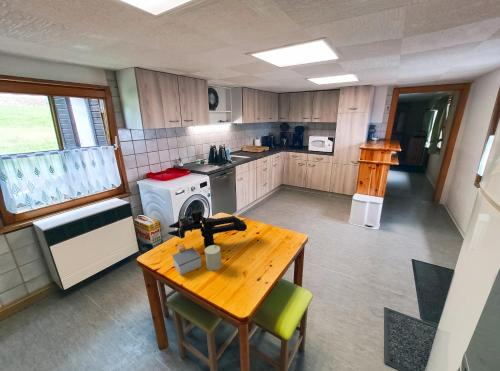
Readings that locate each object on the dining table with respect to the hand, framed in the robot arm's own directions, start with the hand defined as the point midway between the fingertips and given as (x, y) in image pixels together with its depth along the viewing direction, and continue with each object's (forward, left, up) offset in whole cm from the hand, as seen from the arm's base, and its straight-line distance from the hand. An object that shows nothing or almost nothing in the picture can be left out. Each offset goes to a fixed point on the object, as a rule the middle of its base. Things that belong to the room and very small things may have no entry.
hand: (168, 229), depth 143 cm
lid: (-9, +16, -11) cm, 21 cm away
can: (-25, +24, -17) cm, 39 cm away
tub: (-10, +18, -17) cm, 27 cm away
